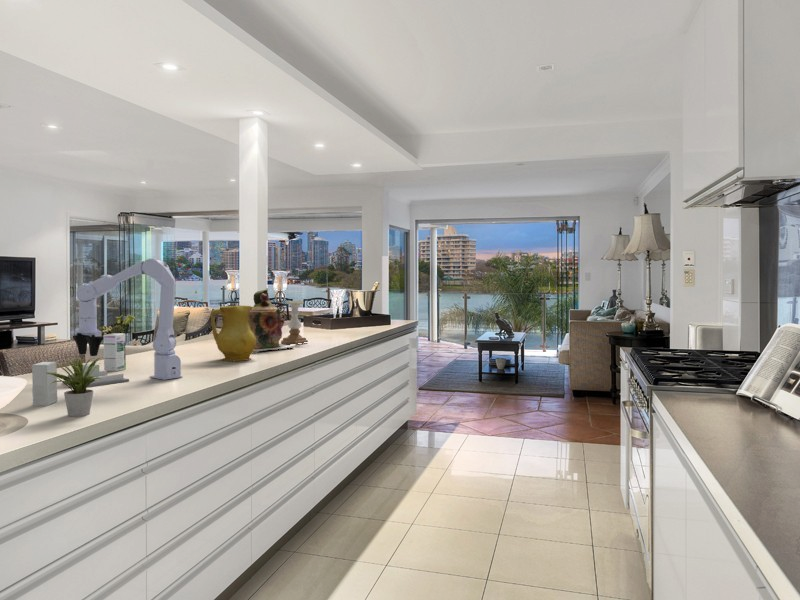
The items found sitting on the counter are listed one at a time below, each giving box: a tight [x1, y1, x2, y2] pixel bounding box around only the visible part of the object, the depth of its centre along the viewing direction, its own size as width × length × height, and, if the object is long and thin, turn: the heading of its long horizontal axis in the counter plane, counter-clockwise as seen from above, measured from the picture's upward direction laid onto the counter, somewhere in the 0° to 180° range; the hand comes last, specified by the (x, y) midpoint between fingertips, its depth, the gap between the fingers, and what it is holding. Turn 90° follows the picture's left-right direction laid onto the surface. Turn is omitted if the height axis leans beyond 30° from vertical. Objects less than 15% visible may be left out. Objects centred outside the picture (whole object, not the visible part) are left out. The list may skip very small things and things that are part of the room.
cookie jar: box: [248, 287, 296, 353], centre depth 317 cm, size 25×25×32 cm
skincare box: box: [31, 361, 58, 407], centre depth 176 cm, size 6×4×12 cm
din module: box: [83, 363, 100, 378], centre depth 210 cm, size 4×5×6 cm
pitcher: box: [210, 305, 256, 362], centre depth 275 cm, size 17×19×25 cm
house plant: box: [47, 355, 104, 418], centre depth 165 cm, size 14×14×16 cm
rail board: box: [63, 370, 130, 388], centre depth 212 cm, size 14×16×3 cm
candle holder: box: [280, 300, 309, 345], centre depth 342 cm, size 11×11×24 cm
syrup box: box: [103, 332, 127, 372], centre depth 240 cm, size 6×6×14 cm
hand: (88, 355), depth 221 cm, fingers open, 7 cm apart
